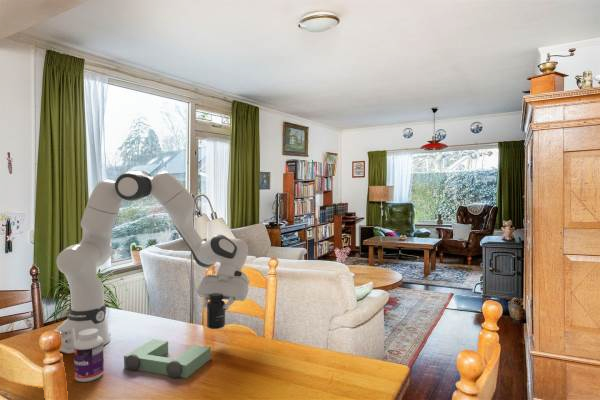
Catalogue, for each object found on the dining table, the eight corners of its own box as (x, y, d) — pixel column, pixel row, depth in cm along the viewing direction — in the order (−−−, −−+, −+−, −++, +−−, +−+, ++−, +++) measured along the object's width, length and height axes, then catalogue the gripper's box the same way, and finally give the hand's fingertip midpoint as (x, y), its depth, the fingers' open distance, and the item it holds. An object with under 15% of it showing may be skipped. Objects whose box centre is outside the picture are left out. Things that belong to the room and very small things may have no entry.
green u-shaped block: (121, 369, 124) (121, 354, 124) (153, 350, 138) (152, 336, 138) (184, 380, 116) (183, 363, 116) (210, 358, 131) (210, 344, 131)
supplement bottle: (221, 330, 138) (220, 297, 138) (203, 328, 139) (203, 296, 139) (228, 323, 145) (228, 292, 145) (211, 322, 146) (211, 291, 146)
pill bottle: (68, 380, 117) (66, 334, 117) (91, 369, 125) (90, 325, 124) (87, 385, 114) (85, 338, 114) (109, 373, 122) (108, 328, 121)
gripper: (201, 270, 151) (187, 301, 142) (248, 273, 145) (236, 306, 136) (208, 278, 156) (194, 309, 147) (253, 282, 149) (242, 315, 140)
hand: (215, 308), depth 141 cm, fingers closed on supplement bottle, 7 cm apart
